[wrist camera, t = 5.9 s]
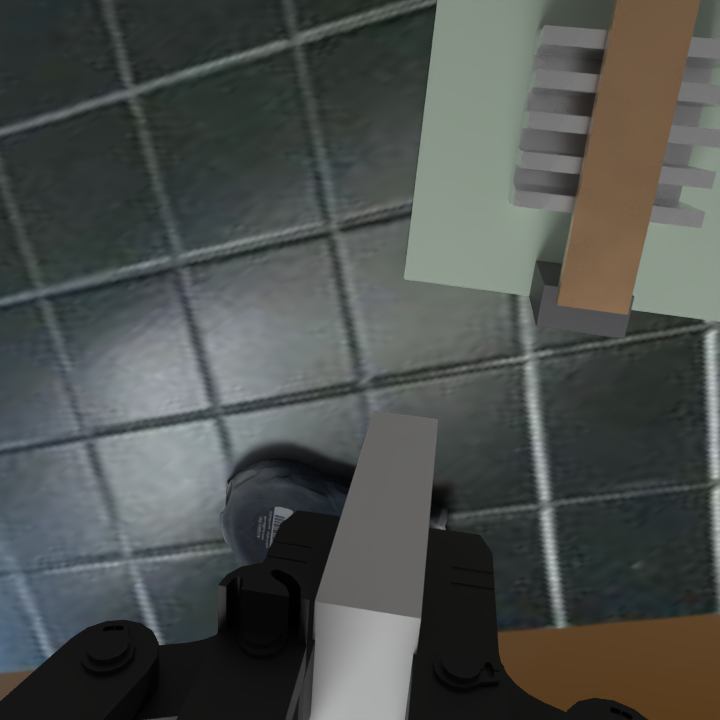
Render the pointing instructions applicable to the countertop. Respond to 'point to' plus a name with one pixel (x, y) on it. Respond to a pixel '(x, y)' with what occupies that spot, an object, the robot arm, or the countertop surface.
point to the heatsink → (573, 116)
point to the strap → (625, 151)
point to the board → (495, 169)
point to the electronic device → (282, 504)
